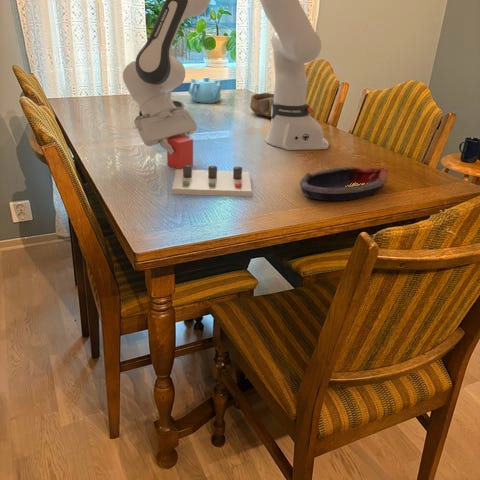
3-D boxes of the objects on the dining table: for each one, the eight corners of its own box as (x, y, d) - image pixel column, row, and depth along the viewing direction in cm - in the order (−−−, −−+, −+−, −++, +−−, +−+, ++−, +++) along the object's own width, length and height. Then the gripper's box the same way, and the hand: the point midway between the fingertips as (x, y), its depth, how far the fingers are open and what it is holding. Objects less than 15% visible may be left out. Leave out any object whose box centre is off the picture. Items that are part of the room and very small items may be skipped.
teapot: (191, 96, 238) (191, 73, 233) (221, 98, 238) (222, 75, 233) (188, 103, 224) (188, 79, 219) (220, 105, 225) (221, 80, 220)
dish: (284, 189, 136) (286, 172, 133) (367, 175, 149) (370, 159, 147) (318, 210, 124) (321, 192, 121) (405, 193, 138) (408, 176, 135)
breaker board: (248, 176, 142) (249, 161, 140) (251, 196, 129) (252, 180, 127) (176, 174, 141) (176, 159, 139) (172, 194, 128) (171, 177, 126)
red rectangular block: (179, 160, 152) (179, 135, 148) (192, 164, 149) (193, 139, 146) (167, 164, 148) (166, 138, 145) (180, 168, 145) (180, 142, 142)
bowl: (295, 116, 207) (291, 93, 201) (266, 127, 203) (262, 104, 197) (273, 106, 221) (270, 84, 215) (247, 116, 217) (242, 95, 211)
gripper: (136, 111, 137) (161, 152, 137) (186, 101, 152) (209, 138, 151) (126, 123, 142) (151, 163, 141) (176, 112, 156) (198, 149, 156)
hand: (181, 150), depth 146 cm, fingers closed on red rectangular block, 5 cm apart
